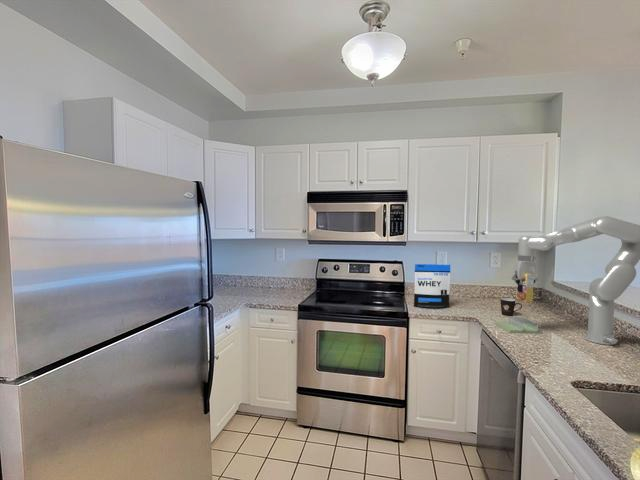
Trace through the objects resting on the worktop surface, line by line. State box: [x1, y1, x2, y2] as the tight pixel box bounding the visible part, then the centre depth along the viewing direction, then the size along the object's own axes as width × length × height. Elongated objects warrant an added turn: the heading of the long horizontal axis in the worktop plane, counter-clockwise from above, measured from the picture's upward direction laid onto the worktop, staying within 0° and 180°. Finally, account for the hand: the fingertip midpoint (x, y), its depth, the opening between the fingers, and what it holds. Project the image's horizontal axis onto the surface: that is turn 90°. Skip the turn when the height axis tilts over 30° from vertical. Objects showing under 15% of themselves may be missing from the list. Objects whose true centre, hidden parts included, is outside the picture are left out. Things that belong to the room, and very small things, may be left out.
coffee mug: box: [499, 297, 523, 317], centre depth 212 cm, size 12×9×10 cm
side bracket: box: [508, 316, 539, 331], centre depth 183 cm, size 13×8×4 cm, turn 0°
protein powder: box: [413, 263, 452, 310], centre depth 230 cm, size 10×24×30 cm, turn 88°
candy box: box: [515, 274, 535, 303], centre depth 182 cm, size 9×4×15 cm, turn 1°
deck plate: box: [493, 320, 543, 334], centre depth 185 cm, size 16×17×2 cm
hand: (524, 291), depth 182 cm, fingers closed on candy box, 4 cm apart
